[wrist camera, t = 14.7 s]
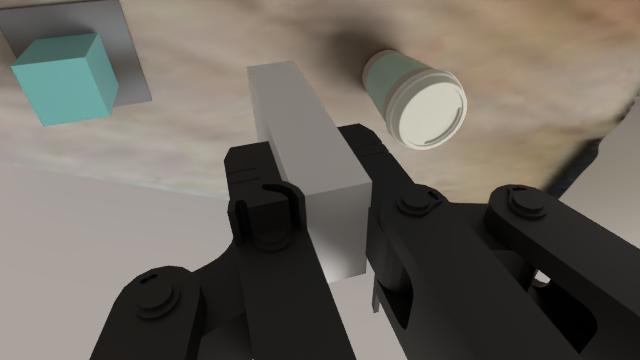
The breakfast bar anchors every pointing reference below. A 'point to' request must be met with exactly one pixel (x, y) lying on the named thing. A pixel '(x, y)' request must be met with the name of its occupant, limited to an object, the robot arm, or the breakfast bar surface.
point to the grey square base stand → (79, 20)
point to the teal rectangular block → (67, 78)
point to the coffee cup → (414, 99)
